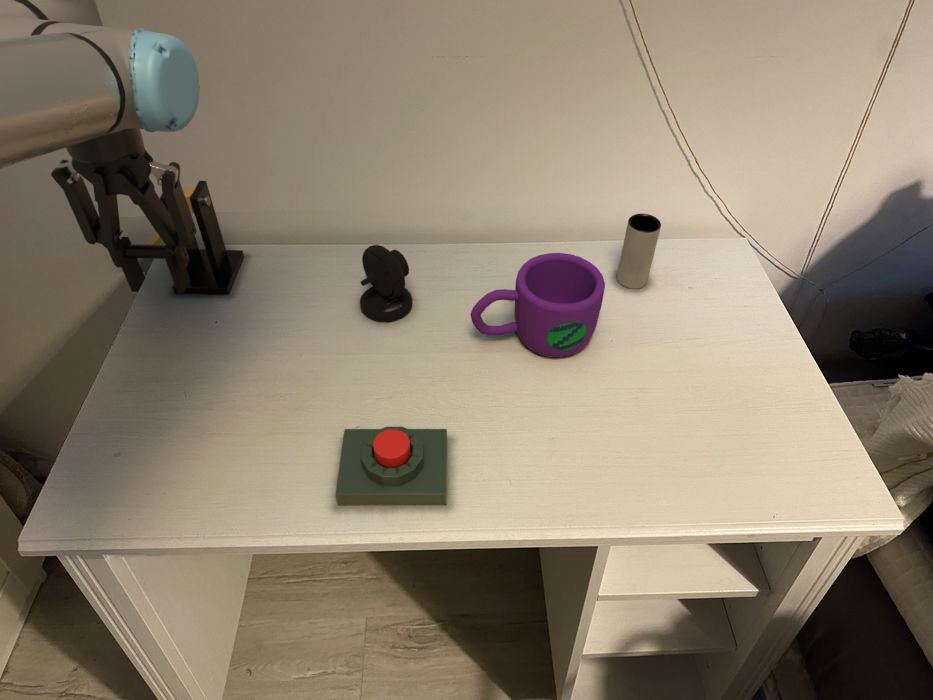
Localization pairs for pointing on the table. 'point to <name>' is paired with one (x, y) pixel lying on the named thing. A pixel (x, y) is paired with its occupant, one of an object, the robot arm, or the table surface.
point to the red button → (391, 448)
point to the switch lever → (153, 240)
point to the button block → (393, 470)
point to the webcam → (384, 283)
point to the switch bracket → (209, 250)
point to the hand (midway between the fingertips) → (161, 285)
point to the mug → (550, 304)
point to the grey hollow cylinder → (638, 250)
